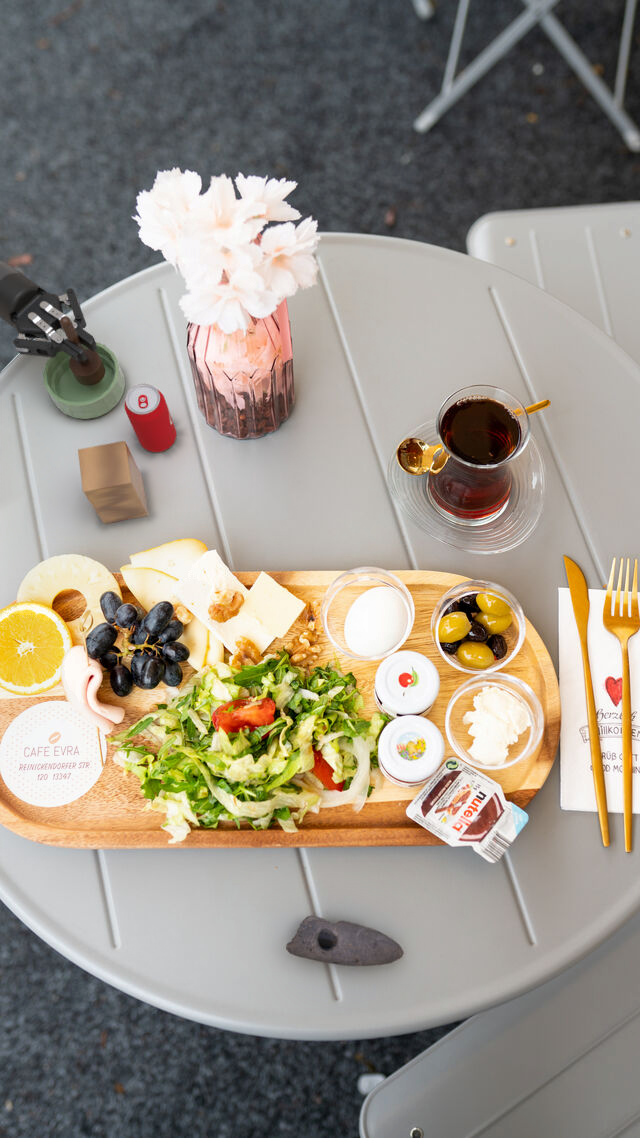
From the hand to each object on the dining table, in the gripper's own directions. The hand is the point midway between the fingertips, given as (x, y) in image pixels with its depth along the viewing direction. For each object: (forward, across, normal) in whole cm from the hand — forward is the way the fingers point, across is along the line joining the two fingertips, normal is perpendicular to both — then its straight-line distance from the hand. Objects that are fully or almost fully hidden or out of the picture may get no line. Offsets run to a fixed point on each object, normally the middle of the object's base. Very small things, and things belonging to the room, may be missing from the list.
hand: (89, 351), depth 125 cm
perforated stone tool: (+82, +42, -12) cm, 92 cm away
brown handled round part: (-3, 0, -8) cm, 9 cm away
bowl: (-4, +1, -13) cm, 13 cm away
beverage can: (+12, +1, -13) cm, 17 cm away
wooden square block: (+15, +13, -13) cm, 23 cm away
